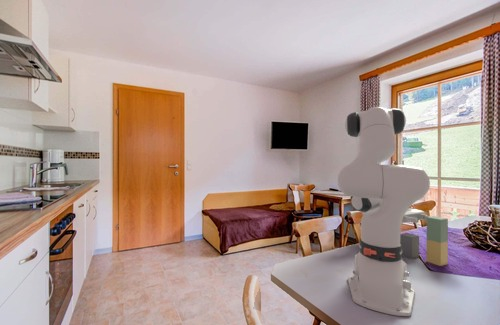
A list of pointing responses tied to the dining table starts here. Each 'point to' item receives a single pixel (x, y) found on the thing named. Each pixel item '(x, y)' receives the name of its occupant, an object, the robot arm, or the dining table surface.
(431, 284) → the dining table surface
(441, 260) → the mustard brick
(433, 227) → the sage green brick
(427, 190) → the robot arm
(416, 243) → the charcoal brick
